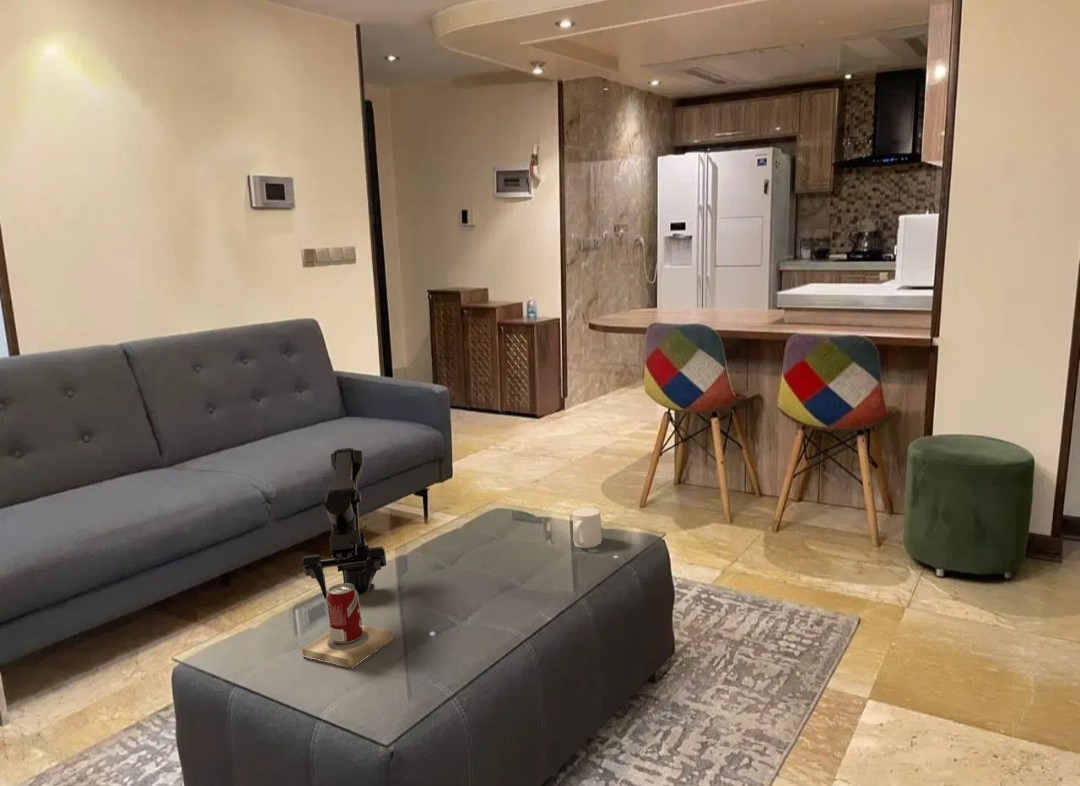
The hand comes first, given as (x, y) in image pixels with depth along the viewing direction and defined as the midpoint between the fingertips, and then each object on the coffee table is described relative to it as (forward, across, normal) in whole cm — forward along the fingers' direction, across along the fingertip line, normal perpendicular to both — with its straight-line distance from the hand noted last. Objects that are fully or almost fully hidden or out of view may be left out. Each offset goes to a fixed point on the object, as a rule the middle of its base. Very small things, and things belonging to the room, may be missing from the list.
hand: (346, 595), depth 183 cm
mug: (-20, +65, +36) cm, 77 cm away
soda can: (+10, 0, +1) cm, 10 cm away
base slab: (+11, 0, +3) cm, 11 cm away
